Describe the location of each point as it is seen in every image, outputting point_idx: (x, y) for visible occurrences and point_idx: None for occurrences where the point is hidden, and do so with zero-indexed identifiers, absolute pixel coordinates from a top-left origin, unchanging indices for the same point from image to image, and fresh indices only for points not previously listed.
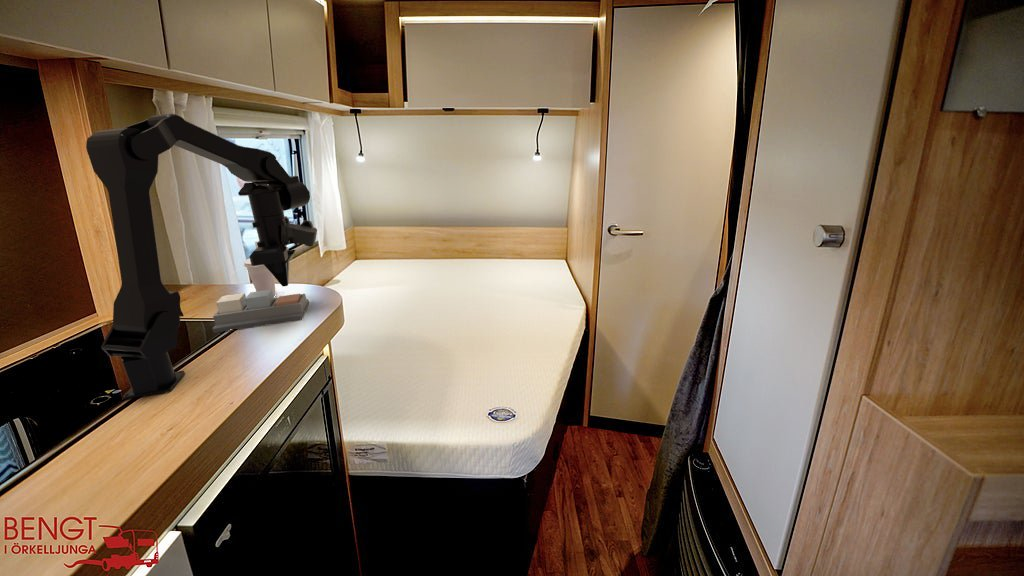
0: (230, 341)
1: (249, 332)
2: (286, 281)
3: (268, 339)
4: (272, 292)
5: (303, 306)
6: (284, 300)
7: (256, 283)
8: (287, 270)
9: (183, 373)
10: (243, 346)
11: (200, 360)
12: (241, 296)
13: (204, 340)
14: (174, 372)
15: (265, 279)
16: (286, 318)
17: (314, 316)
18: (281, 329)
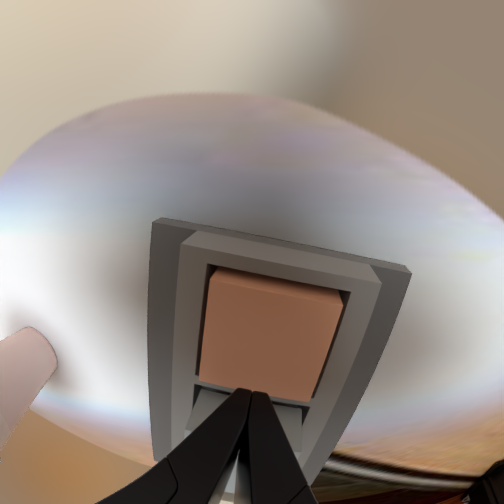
0: (411, 447)
1: (383, 421)
2: (277, 420)
3: (487, 365)
4: (193, 419)
5: (314, 257)
6: (302, 365)
7: (27, 409)
8: (222, 473)
9: (502, 463)
10: (474, 413)
11: (463, 463)
12: (228, 502)
13: (346, 486)
14: (489, 475)
15: (11, 391)
16: (389, 331)
17: (395, 207)
18: (443, 338)
